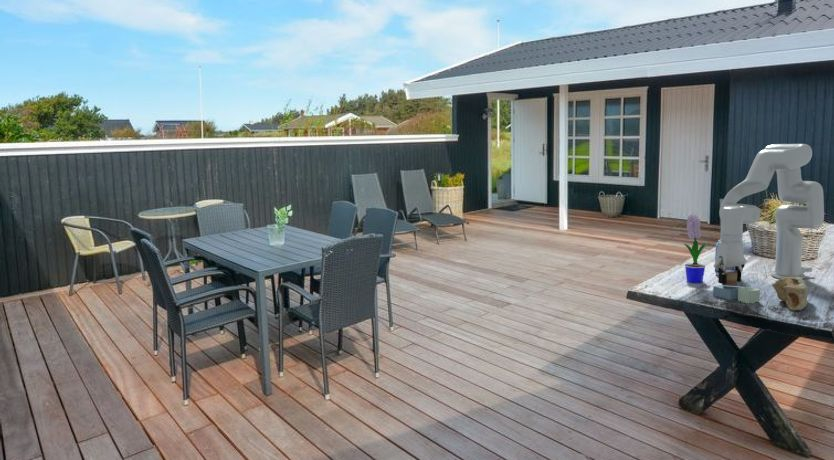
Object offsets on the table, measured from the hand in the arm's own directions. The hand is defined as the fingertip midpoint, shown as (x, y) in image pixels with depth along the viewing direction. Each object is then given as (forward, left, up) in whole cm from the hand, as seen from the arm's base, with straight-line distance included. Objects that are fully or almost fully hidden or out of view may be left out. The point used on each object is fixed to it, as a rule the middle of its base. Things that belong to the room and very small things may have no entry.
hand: (729, 282), depth 223 cm
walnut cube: (0, 0, -1) cm, 1 cm away
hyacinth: (+1, -24, -6) cm, 25 cm away
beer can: (-16, -32, -6) cm, 36 cm away
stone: (-15, +14, -6) cm, 21 cm away
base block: (0, 0, -6) cm, 6 cm away
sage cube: (-3, +8, -6) cm, 10 cm away
